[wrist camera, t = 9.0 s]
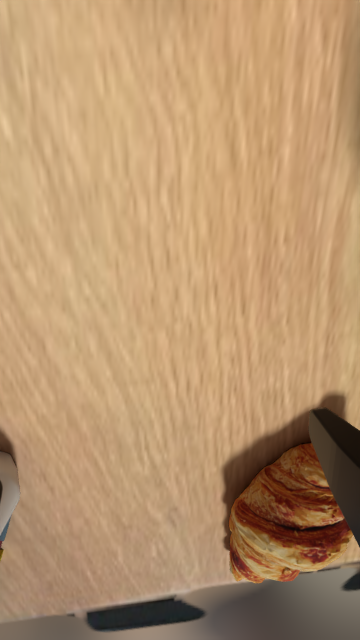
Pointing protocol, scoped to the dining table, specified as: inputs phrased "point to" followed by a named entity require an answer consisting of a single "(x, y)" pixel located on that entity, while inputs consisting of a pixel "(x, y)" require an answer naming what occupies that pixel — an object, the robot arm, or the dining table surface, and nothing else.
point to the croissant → (286, 521)
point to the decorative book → (3, 536)
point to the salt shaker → (8, 488)
